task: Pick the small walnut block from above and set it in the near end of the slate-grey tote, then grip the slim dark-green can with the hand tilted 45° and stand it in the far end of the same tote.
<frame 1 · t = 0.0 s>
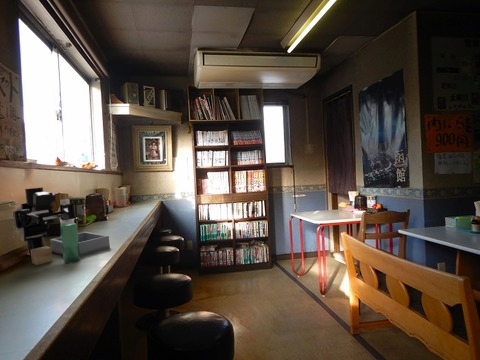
hand: (53, 215, 102), 17 cm above the counter, tool horizontal, fingers open, 9 cm apart
grey tote: (80, 249, 119), on the counter
plastic bottle: (69, 241, 138), on the counter
walnut block: (42, 262, 105), on the counter
green can: (72, 261, 103), on the counter
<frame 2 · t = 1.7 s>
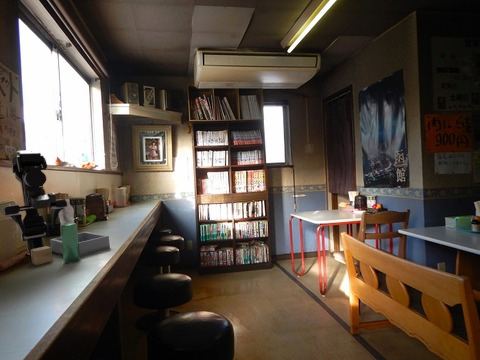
hand: (38, 230, 105), 11 cm above the counter, tool pointing down, fingers open, 9 cm apart
nothing on the counter moved.
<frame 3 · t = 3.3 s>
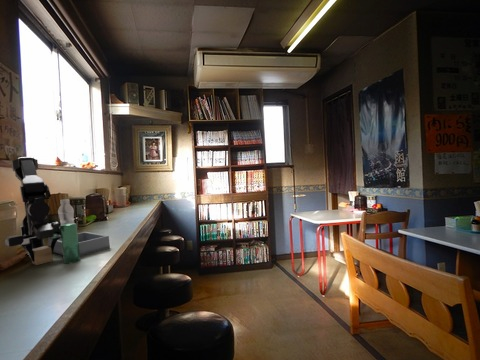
hand: (42, 259, 105), 1 cm above the counter, tool pointing down, fingers closed on walnut block, 5 cm apart
walnut block: (42, 262, 105), on the counter, touching gripper
everything else where it was.
when the fingers open (3 cm above the counter, at t = 8.0 s): walnut block stays where it is, resting on grey tote.
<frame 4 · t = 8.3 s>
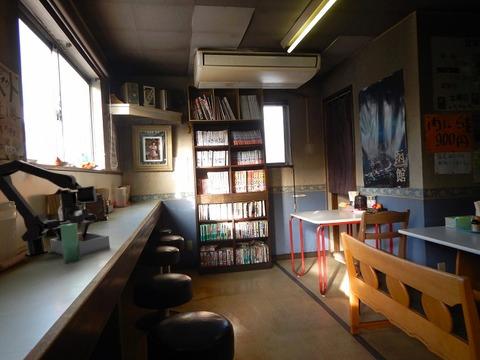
hand: (73, 241, 122), 3 cm above the counter, tool pointing down, fingers open, 8 cm apart
walnut block: (74, 245, 122), point 1 cm above the counter, touching grey tote
everything else where it was.
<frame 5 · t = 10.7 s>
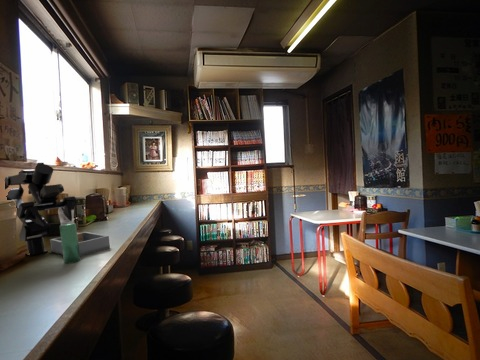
hand: (58, 222, 106), 13 cm above the counter, tool tilted 45°, fingers open, 9 cm apart
nothing on the counter moved.
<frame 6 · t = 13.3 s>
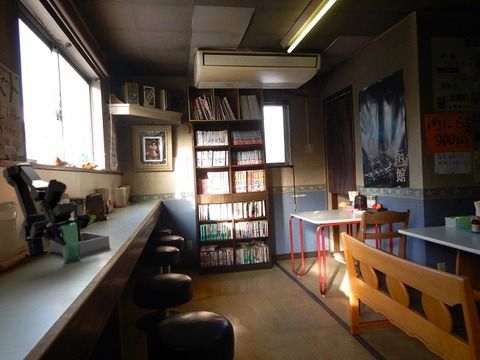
hand: (72, 243, 101), 7 cm above the counter, tool tilted 45°, fingers closed on green can, 5 cm apart
green can: (72, 261, 103), on the counter, touching gripper
everything else where it was.
when the fingers open (9 cm above the counter, at t = 17.3 s): green can drops 1 cm, resting on grey tote.
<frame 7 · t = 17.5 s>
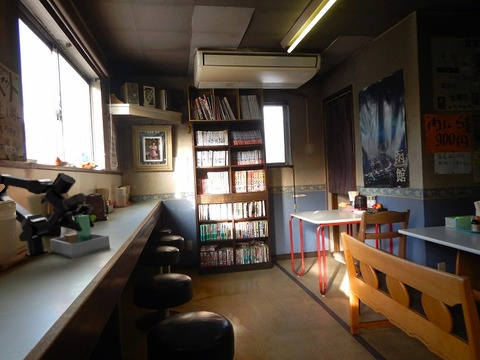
hand: (87, 228, 114), 9 cm above the counter, tool tilted 45°, fingers open, 7 cm apart
green can: (86, 248, 115), point 1 cm above the counter, touching grey tote
everything else where it was.
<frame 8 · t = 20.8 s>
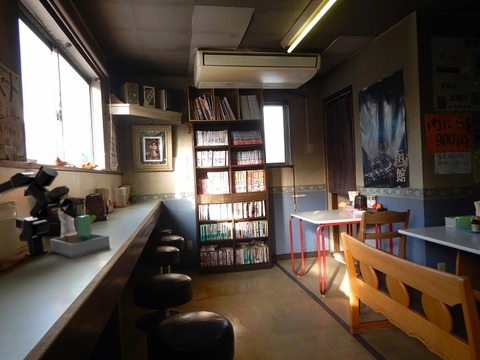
hand: (69, 220, 115), 13 cm above the counter, tool tilted 45°, fingers open, 9 cm apart
nothing on the counter moved.
at the end: walnut block inside the target area on the grey tote (5.9 cm from its centre), point 1.0 cm above the grey tote's base; green can inside the target area on the grey tote (6.0 cm from its centre), point 1.0 cm above the grey tote's base; green can tilted 1° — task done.
